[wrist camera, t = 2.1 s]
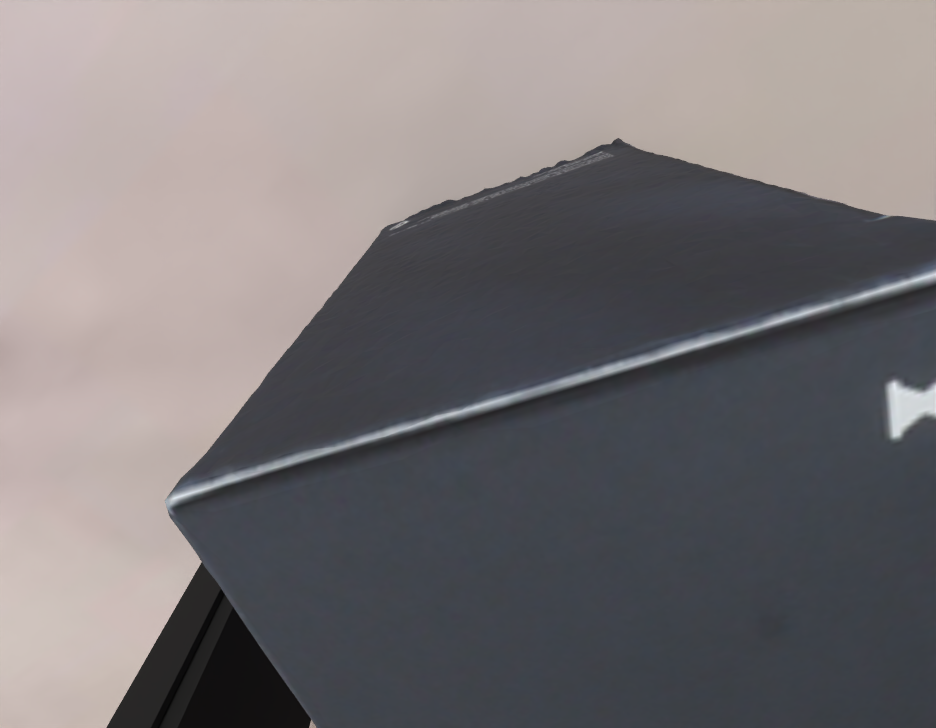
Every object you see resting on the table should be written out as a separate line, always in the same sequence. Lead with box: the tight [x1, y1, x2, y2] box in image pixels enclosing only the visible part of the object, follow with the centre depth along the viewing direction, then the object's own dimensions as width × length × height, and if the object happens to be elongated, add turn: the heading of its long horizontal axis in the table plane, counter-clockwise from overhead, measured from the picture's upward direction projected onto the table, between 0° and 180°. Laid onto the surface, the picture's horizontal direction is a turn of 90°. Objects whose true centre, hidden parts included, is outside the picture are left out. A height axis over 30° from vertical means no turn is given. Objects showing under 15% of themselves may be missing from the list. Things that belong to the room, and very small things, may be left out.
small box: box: [165, 138, 936, 728], centre depth 10 cm, size 11×6×10 cm, turn 19°
